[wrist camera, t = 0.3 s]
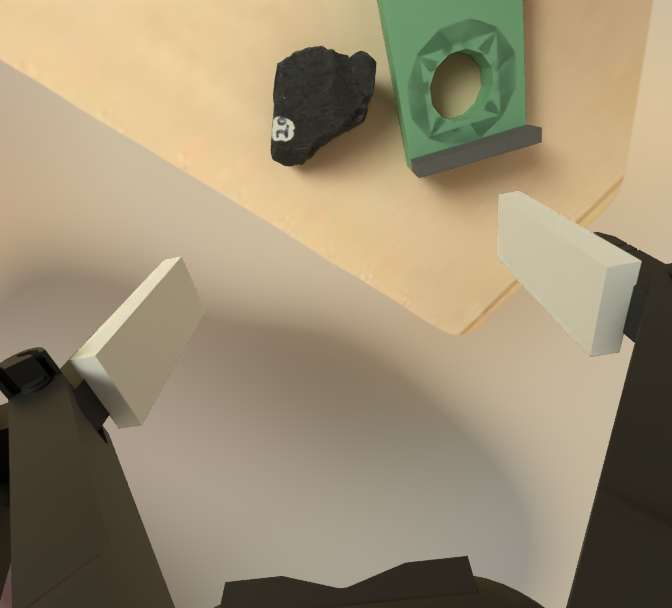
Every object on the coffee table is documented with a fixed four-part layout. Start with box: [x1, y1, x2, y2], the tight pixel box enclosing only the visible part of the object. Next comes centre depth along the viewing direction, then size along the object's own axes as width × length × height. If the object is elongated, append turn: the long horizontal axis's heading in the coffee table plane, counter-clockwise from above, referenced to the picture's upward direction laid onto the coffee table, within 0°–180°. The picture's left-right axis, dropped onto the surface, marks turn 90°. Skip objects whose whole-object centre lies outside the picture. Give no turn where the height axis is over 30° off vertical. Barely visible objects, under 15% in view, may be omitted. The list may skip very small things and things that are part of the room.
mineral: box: [271, 46, 376, 166], centre depth 35 cm, size 10×9×6 cm
